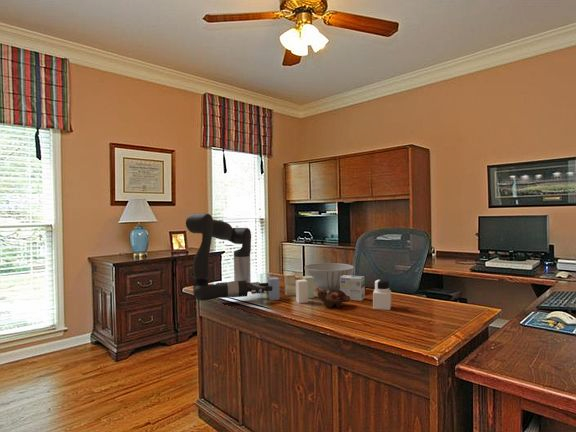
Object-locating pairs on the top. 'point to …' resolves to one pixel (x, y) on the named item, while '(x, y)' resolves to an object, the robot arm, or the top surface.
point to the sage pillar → (310, 285)
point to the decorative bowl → (328, 274)
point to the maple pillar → (290, 284)
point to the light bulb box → (353, 287)
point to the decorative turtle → (333, 297)
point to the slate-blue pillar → (274, 288)
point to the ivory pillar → (302, 291)
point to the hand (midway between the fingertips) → (270, 286)
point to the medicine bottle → (382, 295)
